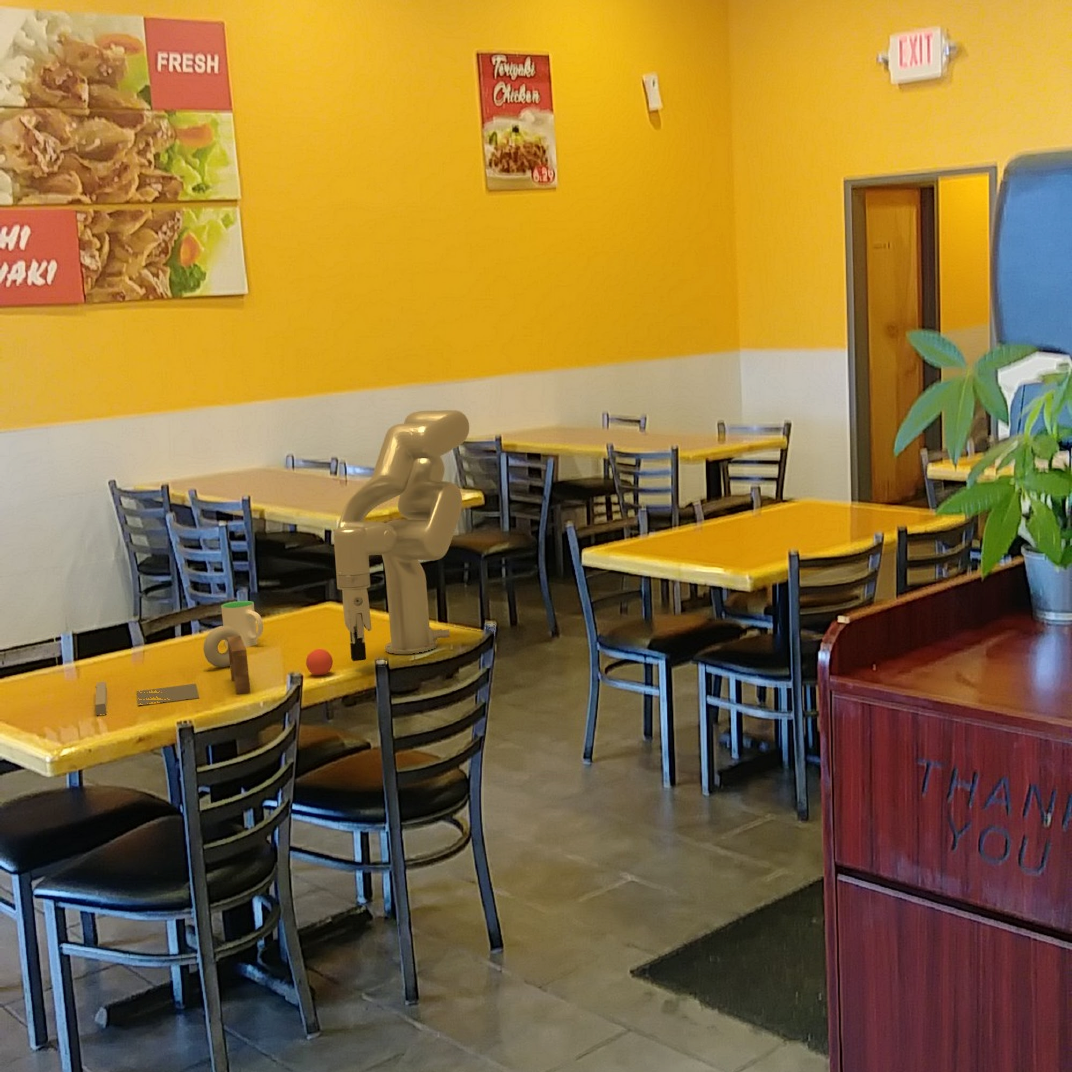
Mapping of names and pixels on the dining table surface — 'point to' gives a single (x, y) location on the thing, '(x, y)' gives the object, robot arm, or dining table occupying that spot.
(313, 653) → the ball
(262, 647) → the dining table surface
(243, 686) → the bridge
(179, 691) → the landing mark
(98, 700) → the stopper wall
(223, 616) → the mug
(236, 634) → the donut
